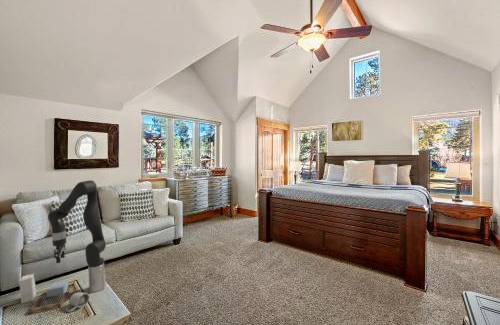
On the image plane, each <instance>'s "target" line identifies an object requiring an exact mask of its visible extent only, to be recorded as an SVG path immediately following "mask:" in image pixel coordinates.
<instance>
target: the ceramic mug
mask: <svg viewBox="0 0 500 325" xmlns="http://www.w3.org/2000/svg"><path fill="white" fill-rule="evenodd" d="M89 301H90V295H89V294H88V293H87V292H74V293H73V294H72V295H70V298H69V301H68V305H67V306H66V309H65V310H66V312H68V313H71V312H73V311H75V310H76V309H77V308H78V309H79V308H80V309H81V308H83V307H85V306H86V305H87V304H88V303H89ZM71 306H72V308H71V309H69V308H70V307H71Z"/></svg>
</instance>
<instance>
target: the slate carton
mask: <svg viewBox="0 0 500 325" xmlns="http://www.w3.org/2000/svg"><path fill="white" fill-rule="evenodd" d="M68 288H69V281H68V280H67V281H66V280H65V281H62V282H61V281H60V282H54V283H51V284H50V286H48V288H47V289H46V298H51V297H55V296H61V295H64V294H65V293H66V292H67V291H68Z"/></svg>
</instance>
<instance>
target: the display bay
mask: <svg viewBox="0 0 500 325" xmlns="http://www.w3.org/2000/svg"><path fill="white" fill-rule="evenodd" d="M68 293H69V292H68V291H65V293H64V294H63V296H62V297H61V299H60V301H59V302H58V303H52V304H47V305H44V306H38V305H40V303H41V302H42V297H41V296H40V297H38V298H37V299H36V301H35V302H33V304H32V306H31V307H30V308H29V310H28V315H33V314H37V313H42V312H47V311H52V310H55V309H60V308H62V306H63V304H64V303H65V301H66V299H67V298H68V296H69V294H68Z"/></svg>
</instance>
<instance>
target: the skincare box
mask: <svg viewBox="0 0 500 325" xmlns="http://www.w3.org/2000/svg"><path fill="white" fill-rule="evenodd" d="M18 282H19V292H20V293H19V294H20V301H21V302H20V303H21V304H25V303H28V302H33V301H34V299H35V297H36V295H37V289H36V278H35V273H34V272H33V273H30V274H26V275H22V277H21V278H20V280H19V281H18Z"/></svg>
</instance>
